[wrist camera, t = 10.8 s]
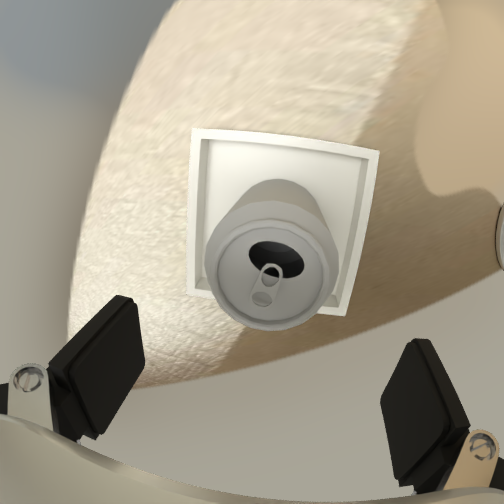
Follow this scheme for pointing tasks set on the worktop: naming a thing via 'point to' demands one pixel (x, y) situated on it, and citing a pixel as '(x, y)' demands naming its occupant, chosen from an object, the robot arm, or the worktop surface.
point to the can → (272, 257)
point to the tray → (287, 168)
